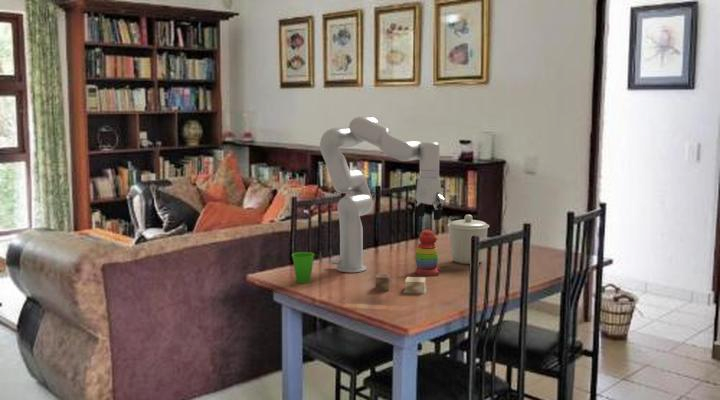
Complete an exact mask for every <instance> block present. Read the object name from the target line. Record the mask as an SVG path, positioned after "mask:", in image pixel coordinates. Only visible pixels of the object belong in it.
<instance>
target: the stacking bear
mask: <svg viewBox="0 0 720 400" xmlns="http://www.w3.org/2000/svg"><path fill="white" fill-rule="evenodd" d="M418 239H419V242H420V243H419V244H418V246H417V247H416V250H415V251H416V252H415V258H414V259H415V264H416V269H415V273H416V274H418V275H423V276H432V277H434V276H439V275H440V272H441V267H440V266H438V262H439V251H438V249H437V245H436V242H437V240H438V236H437V235H435V233H434V231H432V230H431V229H427V228H426V229H425V230H422V231H421V232H420V233H419V238H418Z"/></svg>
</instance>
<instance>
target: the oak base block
mask: <svg viewBox="0 0 720 400" xmlns="http://www.w3.org/2000/svg"><path fill="white" fill-rule="evenodd" d="M426 279H427V278H426V277H425V276H424V277H421V276H420V277H419V276H407V277H406V278H405V281H404V290H405V292H411V293H410V294H423V293H424V292H425V288H427V287H426V284H427V283H426V282H427V280H426Z"/></svg>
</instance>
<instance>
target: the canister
mask: <svg viewBox="0 0 720 400" xmlns="http://www.w3.org/2000/svg"><path fill="white" fill-rule="evenodd" d="M463 218H464V219H457V220H452V221H451V222H449V223H448V224H447V227H448V231H449V242H450V253H451V258H452V259H453V261H454V262H456V263H458V264H462V265H471V264H470V249H471V237H472V236H473V235H476V236H479V237H483V238H486V239H487V237H488V229H489V228H490V224H488V223H487V222H485V221H483V220H479V219H478V220H477V219H473V215H471V214H465V216H464V217H463ZM485 251H486V250H481V251H480V253H479V263H481V262H482V261H483V260H484V257H485ZM479 263H478V264H479Z"/></svg>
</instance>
